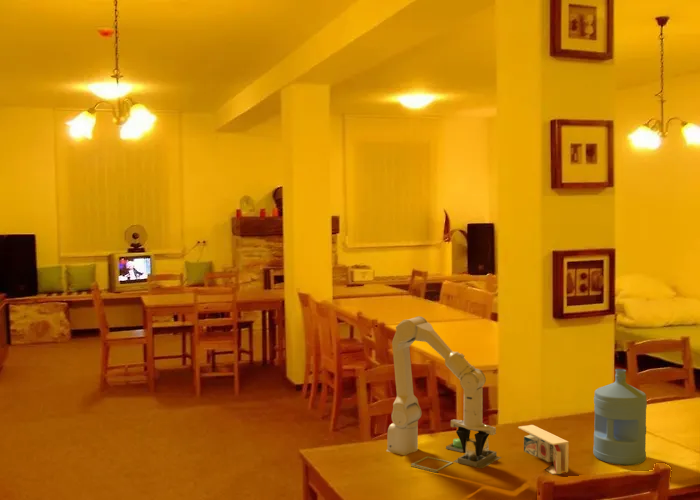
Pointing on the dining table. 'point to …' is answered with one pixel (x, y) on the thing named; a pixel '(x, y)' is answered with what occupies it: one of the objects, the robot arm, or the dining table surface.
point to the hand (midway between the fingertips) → (472, 453)
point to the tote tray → (430, 468)
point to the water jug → (620, 422)
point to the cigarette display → (547, 448)
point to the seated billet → (486, 448)
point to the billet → (471, 450)
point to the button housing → (454, 448)
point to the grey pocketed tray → (481, 462)
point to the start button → (457, 443)
